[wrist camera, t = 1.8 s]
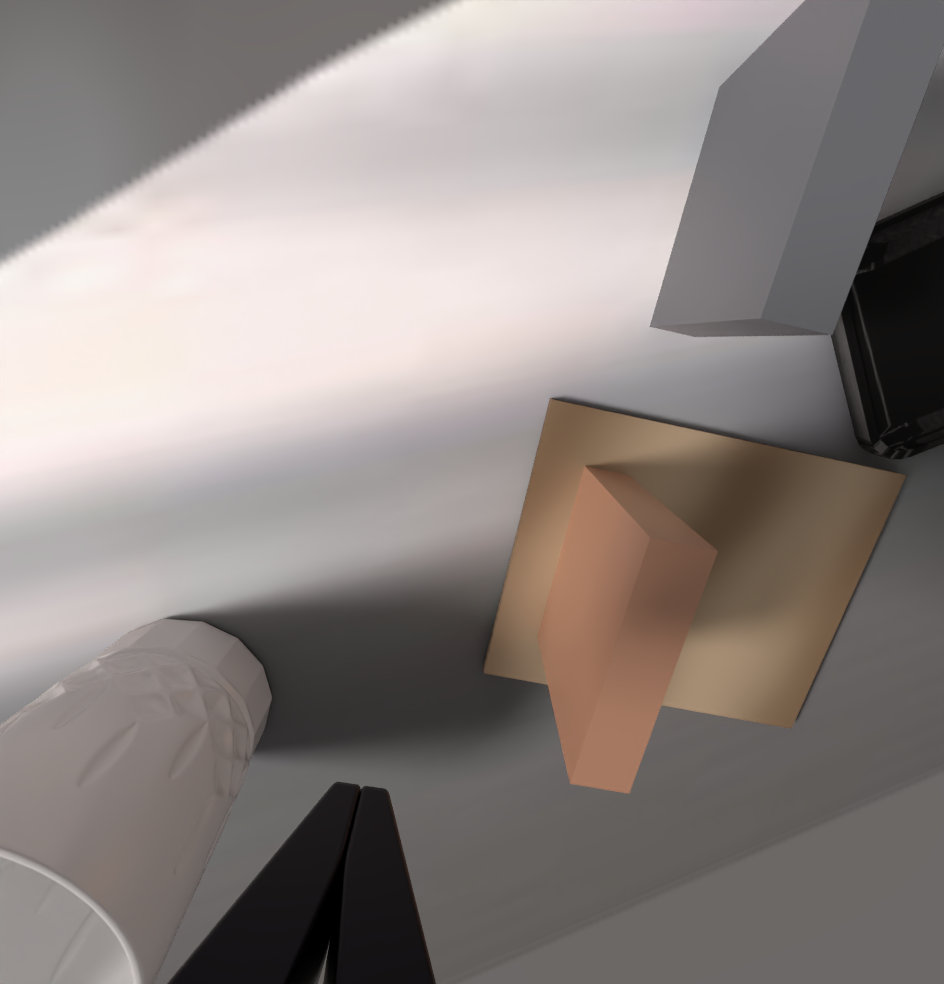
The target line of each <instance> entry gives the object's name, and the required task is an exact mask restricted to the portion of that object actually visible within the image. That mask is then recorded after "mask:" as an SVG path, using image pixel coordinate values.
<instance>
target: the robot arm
mask: <svg viewBox="0 0 944 984" xmlns="http://www.w3.org/2000/svg"><path fill="white" fill-rule="evenodd" d="M329 942H330V943H329ZM328 946H329V949H328ZM327 950H328V955H327V961H326V968H325V975H324V982H323V984H436V982H435V978H434V974H433V970H432V966H431V962H430V958H429V954H428V950H427V946H426V941H425V937H424V933H423V929H422V925H421V921H420V917H419V913H418V909H417V905H416V901H415V897H414V893H413V889H412V885H411V880H410V876H409V872H408V868H407V864H406V860H405V856H404V852H403V848H402V844H401V840H400V836H399V832H398V828H397V823H396V819H395V815H394V811H393V807H392V803H391V799H390V795H389V793H388V791H387V790H386V789H383V788H376V787H370V786H364V787H363V788H362V789H360V786H359V785H357V784H350V783H343V782H336V783H334V784H333V785H332V786H331V787H330V788H329V790H328V791H327V792H326V793H325V794H324V796H323V797H322V798H321V799H320V800H319V802H318V803H317V804H316V805H315V806H314V808H313V809H312V810H311V811H310V812H309V814H308V815H307V816H306V817H305V818H304V820H303V821H302V822H301V823H300V824H299V826H298V827H297V828H296V829H295V830H294V832H293V833H292V834H291V835H290V836H289V838H288V839H287V840H286V841H285V842H284V844H283V845H282V846H281V847H280V848H279V850H278V851H277V852H276V853H275V854H274V856H273V857H272V858H271V859H270V861H269V862H268V863H267V864H266V865H265V867H264V868H263V869H262V870H261V871H260V873H259V874H258V875H257V876H256V877H255V879H254V880H253V881H252V882H251V883H250V885H249V886H248V887H247V888H246V889H245V891H244V892H243V893H242V894H241V895H240V897H239V898H238V899H237V900H236V901H235V903H234V904H233V905H232V906H231V907H230V909H229V910H228V911H227V912H226V913H225V915H224V916H223V917H222V918H221V919H220V921H219V922H218V923H217V924H216V925H215V927H214V928H213V929H212V930H211V931H210V933H209V934H208V935H207V936H206V938H205V939H204V940H203V941H202V942H201V944H200V945H199V946H198V947H197V948H196V950H195V951H194V952H193V953H192V954H191V956H190V957H189V958H188V959H187V960H186V962H185V963H184V964H183V965H182V966H181V968H180V969H179V970H178V971H177V972H176V974H175V975H174V976H173V977H172V978H171V980H170V981H169V982H168V983H167V984H318V982H319V978H320V975H321V972H322V968H323V965H324V962H325V958H326V954H327Z"/></svg>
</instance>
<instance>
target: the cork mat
mask: <svg viewBox="0 0 944 984" xmlns="http://www.w3.org/2000/svg"><path fill="white" fill-rule="evenodd" d="M584 466H589V467H593V468H598V469H603V470H608V471H613V472H618V473H622V474H627V475H629V476H630V477H631V478H633V479H634V480H635V481H636V482H637V483H639V484H640V485H641V486H642V487H643V488H644V489H646V490H647V491H648V492H649V493H650V494H651V495H653V496H654V497H655V498H656V499H657V500H658V501H660V502H661V503H662V504H663V505H664V506H666V507H667V508H668V509H669V510H670V511H671V512H673V513H674V514H675V515H676V516H677V517H678V518H680V519H681V520H682V521H683V522H684V523H686V524H687V525H688V526H689V527H690V528H691V529H693V530H694V531H695V532H696V533H697V534H698V535H700V536H701V537H702V538H703V539H704V540H705V541H707V542H708V543H709V544H710V545H711V546H713V547H714V548H715V549H716V550H717V551H718V552H717V555H716V558H715V561H714V563H713V566H712V569H711V572H710V574H709V577H708V580H707V582H706V585H705V588H704V591H703V593H702V596H701V599H700V602H699V604H698V607H697V610H696V612H695V615H694V618H693V621H692V623H691V626H690V629H689V632H688V634H687V637H686V640H685V642H684V645H683V648H682V651H681V653H680V656H679V659H678V662H677V664H676V667H675V670H674V672H673V675H672V678H671V681H670V683H669V686H668V689H667V692H666V694H665V697H664V700H663V702H662V705H663V706H669V707H674V708H680V709H686V710H691V711H697V712H702V713H708V714H713V715H719V716H725V717H730V718H736V719H741V720H747V721H752V722H758V723H764V724H769V725H775V726H780V727H786V728H792V726H793V724H794V722H795V720H796V717H797V715H798V713H799V711H800V709H801V706H802V704H803V702H804V700H805V698H806V695H807V693H808V691H809V689H810V687H811V684H812V682H813V680H814V678H815V676H816V673H817V671H818V669H819V667H820V665H821V662H822V660H823V658H824V656H825V654H826V651H827V649H828V647H829V645H830V643H831V640H832V638H833V636H834V634H835V632H836V629H837V627H838V625H839V623H840V621H841V618H842V616H843V614H844V612H845V610H846V607H847V605H848V603H849V601H850V599H851V596H852V594H853V592H854V590H855V588H856V585H857V583H858V581H859V579H860V577H861V574H862V572H863V570H864V568H865V566H866V563H867V561H868V559H869V557H870V555H871V552H872V550H873V548H874V546H875V544H876V541H877V539H878V537H879V535H880V533H881V530H882V528H883V526H884V524H885V522H886V519H887V517H888V515H889V513H890V511H891V508H892V506H893V504H894V502H895V500H896V497H897V495H898V493H899V491H900V489H901V486H902V484H903V482H904V480H905V478H906V475H903V474H900V473H896V472H892V471H887V470H882V469H878V468H873V467H868V466H864V465H859V464H854V463H850V462H845V461H840V460H836V459H831V458H826V457H822V456H817V455H812V454H808V453H803V452H798V451H794V450H789V449H784V448H780V447H775V446H770V445H766V444H761V443H756V442H752V441H747V440H742V439H738V438H733V437H728V436H724V435H719V434H714V433H710V432H705V431H700V430H695V429H691V428H686V427H681V426H677V425H672V424H667V423H663V422H658V421H653V420H649V419H644V418H639V417H635V416H630V415H625V414H621V413H616V412H611V411H607V410H602V409H597V408H593V407H588V406H583V405H579V404H574V403H569V402H565V401H560V400H555V399H551V398H550V401H549V405H548V409H547V413H546V417H545V421H544V425H543V429H542V433H541V437H540V441H539V445H538V449H537V453H536V457H535V461H534V465H533V469H532V473H531V477H530V481H529V485H528V489H527V493H526V497H525V501H524V505H523V509H522V513H521V517H520V522H519V526H518V530H517V534H516V538H515V542H514V546H513V550H512V554H511V558H510V562H509V566H508V570H507V574H506V578H505V582H504V586H503V590H502V594H501V598H500V602H499V606H498V610H497V614H496V618H495V622H494V626H493V630H492V634H491V638H490V642H489V646H488V650H487V654H486V658H485V662H484V666H483V673H485V674H491V675H496V676H502V677H507V678H513V679H518V680H524V681H530V682H535V683H541V684H546V685H548V684H547V679H546V675H545V670H544V666H543V661H542V657H541V653H540V648H539V644H538V639H537V636H538V632H539V629H540V625H541V621H542V618H543V614H544V610H545V607H546V603H547V600H548V596H549V592H550V589H551V585H552V582H553V578H554V574H555V571H556V567H557V564H558V560H559V556H560V553H561V549H562V546H563V542H564V538H565V535H566V531H567V527H568V524H569V520H570V517H571V513H572V509H573V506H574V502H575V499H576V495H577V491H578V488H579V484H580V481H581V477H582V473H583V470H584Z"/></svg>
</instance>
